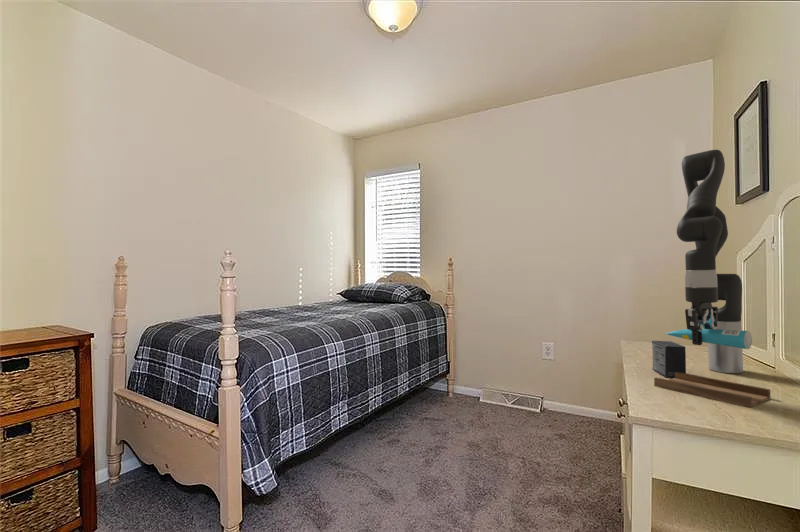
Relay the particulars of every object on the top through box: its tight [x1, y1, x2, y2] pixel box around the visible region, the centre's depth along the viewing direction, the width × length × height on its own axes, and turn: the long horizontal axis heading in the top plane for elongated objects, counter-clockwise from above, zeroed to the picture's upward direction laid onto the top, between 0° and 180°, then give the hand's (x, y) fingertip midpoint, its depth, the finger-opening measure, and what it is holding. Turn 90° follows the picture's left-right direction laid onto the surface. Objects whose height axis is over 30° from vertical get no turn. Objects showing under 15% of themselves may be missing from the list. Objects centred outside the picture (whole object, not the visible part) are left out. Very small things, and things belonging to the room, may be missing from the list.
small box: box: [651, 340, 687, 379], centre depth 133 cm, size 11×6×10 cm, turn 168°
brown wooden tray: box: [653, 372, 772, 408], centre depth 114 cm, size 13×23×2 cm, turn 29°
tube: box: [664, 328, 753, 350], centre depth 114 cm, size 7×5×19 cm
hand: (702, 343), depth 115 cm, fingers closed on tube, 6 cm apart
